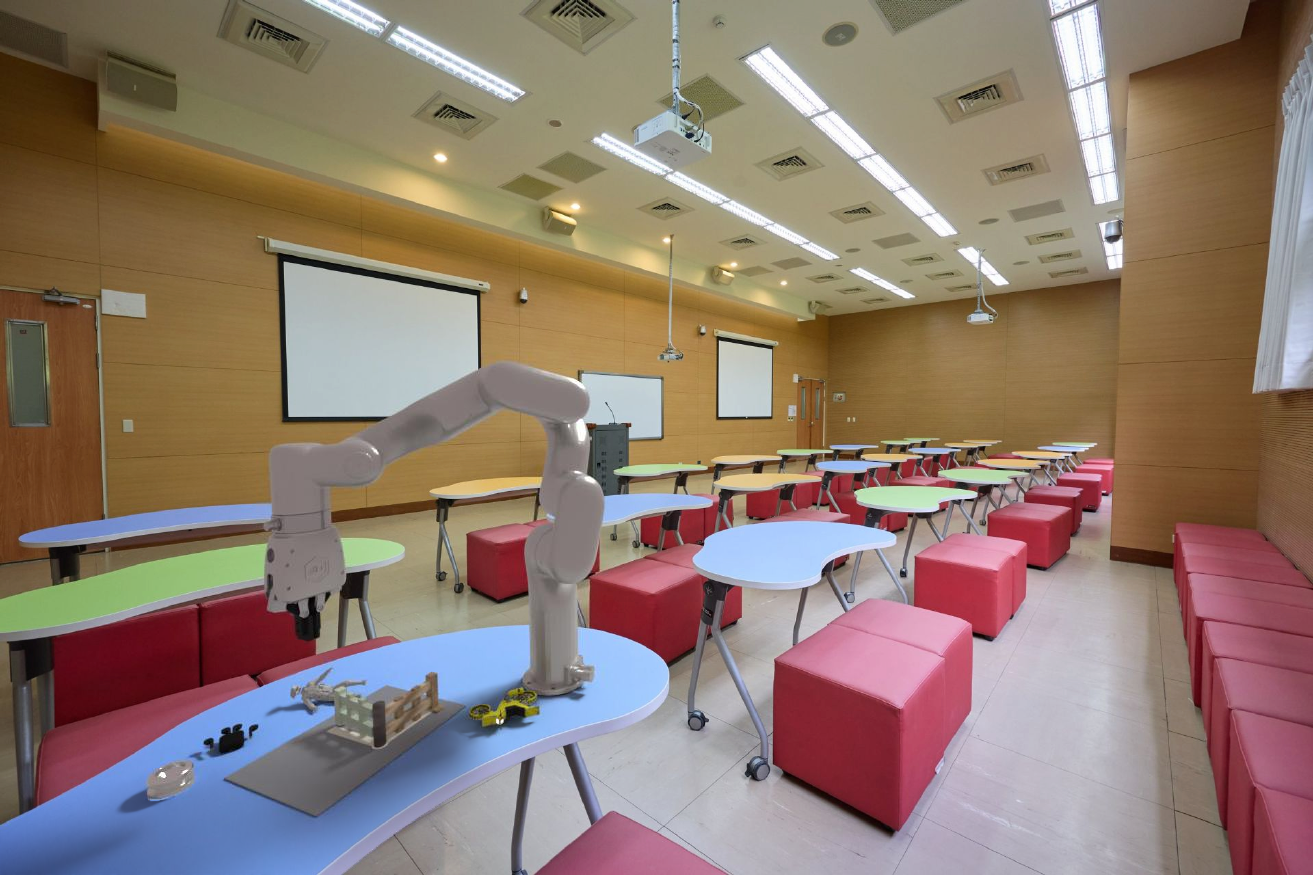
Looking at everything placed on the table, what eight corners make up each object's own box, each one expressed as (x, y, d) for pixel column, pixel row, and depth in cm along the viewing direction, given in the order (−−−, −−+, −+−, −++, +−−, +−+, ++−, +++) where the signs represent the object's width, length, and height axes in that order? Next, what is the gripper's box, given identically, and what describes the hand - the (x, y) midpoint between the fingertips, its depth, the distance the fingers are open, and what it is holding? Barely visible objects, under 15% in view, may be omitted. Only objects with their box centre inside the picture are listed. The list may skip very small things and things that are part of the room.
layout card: (466, 706, 95) (466, 704, 95) (316, 817, 69) (316, 814, 69) (386, 686, 103) (386, 684, 103) (224, 778, 77) (224, 777, 77)
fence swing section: (379, 737, 85) (378, 701, 85) (371, 742, 84) (369, 706, 84) (343, 719, 91) (342, 685, 90) (335, 723, 89) (333, 689, 89)
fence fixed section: (384, 751, 83) (382, 709, 82) (366, 746, 84) (364, 704, 84) (444, 709, 94) (443, 671, 94) (427, 705, 96) (426, 668, 95)
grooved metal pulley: (151, 786, 75) (143, 807, 71) (149, 767, 75) (142, 786, 71) (196, 772, 78) (192, 791, 74) (195, 753, 78) (191, 771, 74)
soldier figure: (355, 713, 95) (280, 706, 91) (353, 721, 98) (281, 714, 94) (370, 669, 101) (300, 661, 96) (367, 678, 104) (300, 670, 100)
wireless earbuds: (202, 755, 81) (203, 730, 84) (203, 767, 81) (204, 742, 85) (259, 737, 85) (257, 714, 89) (259, 748, 86) (258, 725, 89)
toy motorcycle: (532, 679, 97) (545, 697, 91) (533, 699, 97) (546, 718, 92) (466, 698, 91) (475, 719, 85) (466, 720, 91) (475, 742, 85)
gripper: (264, 535, 72) (271, 664, 73) (363, 515, 86) (368, 623, 87) (233, 531, 75) (240, 654, 76) (333, 512, 89) (338, 617, 90)
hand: (308, 637), depth 81 cm, fingers closed
